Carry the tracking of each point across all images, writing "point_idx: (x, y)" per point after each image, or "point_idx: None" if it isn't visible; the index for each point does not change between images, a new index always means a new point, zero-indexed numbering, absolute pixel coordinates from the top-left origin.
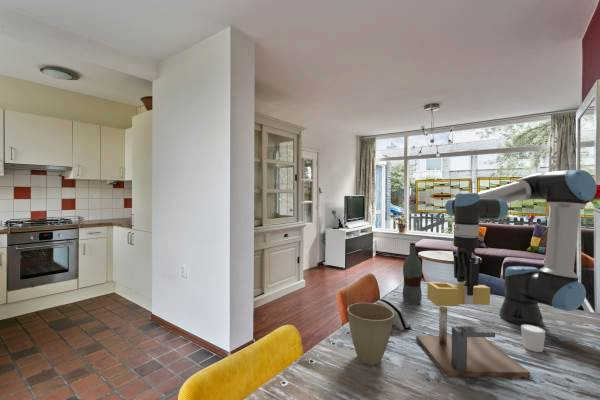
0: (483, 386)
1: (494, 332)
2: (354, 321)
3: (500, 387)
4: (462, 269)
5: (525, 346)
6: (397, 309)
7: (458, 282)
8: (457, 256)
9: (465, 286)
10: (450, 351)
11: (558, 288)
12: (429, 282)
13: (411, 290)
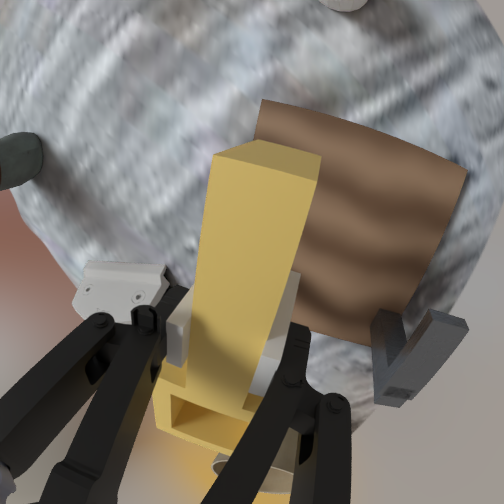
0: (434, 301)
1: (467, 331)
2: (276, 484)
3: (453, 273)
4: (127, 439)
5: (340, 9)
6: None
7: (174, 362)
8: (11, 475)
9: (265, 391)
10: (320, 283)
11: None
12: (162, 428)
13: (10, 178)
